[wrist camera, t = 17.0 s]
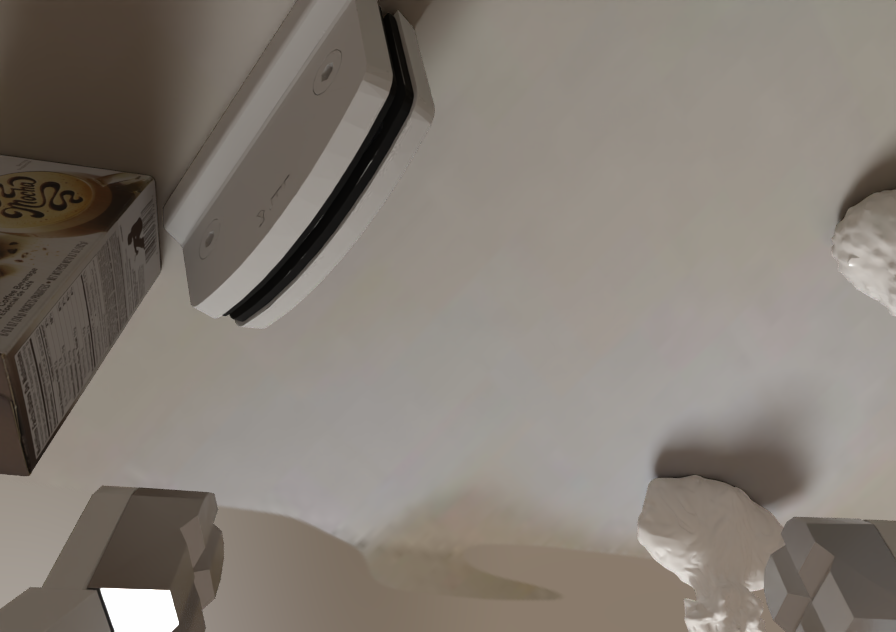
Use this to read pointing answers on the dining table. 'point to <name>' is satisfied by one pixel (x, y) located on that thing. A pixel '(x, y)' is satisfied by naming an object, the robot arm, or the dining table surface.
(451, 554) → the dining table surface
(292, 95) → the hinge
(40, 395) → the coffee box
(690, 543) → the bust
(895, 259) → the white creature statuette
